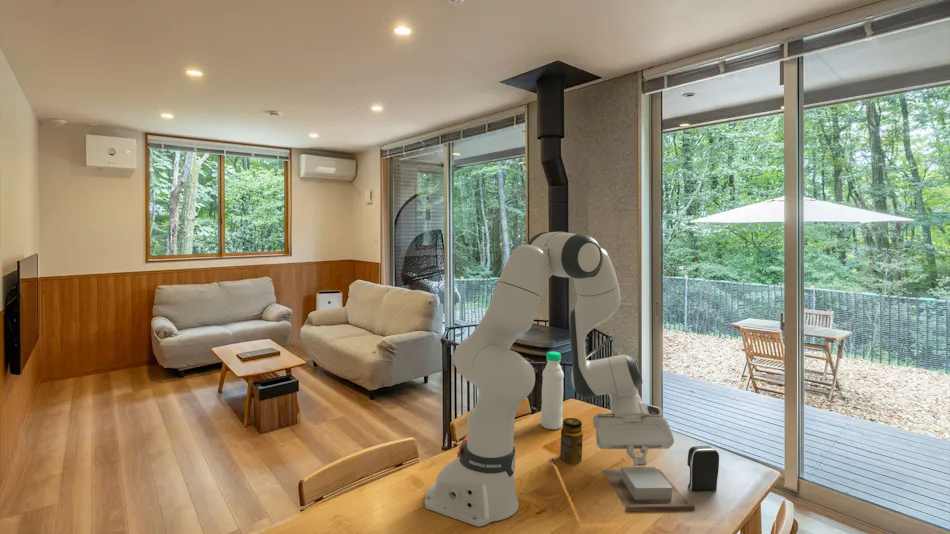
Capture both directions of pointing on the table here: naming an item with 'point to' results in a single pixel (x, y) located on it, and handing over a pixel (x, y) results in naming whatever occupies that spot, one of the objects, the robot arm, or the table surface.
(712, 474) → the battery charger
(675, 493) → the board
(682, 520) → the table surface
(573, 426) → the condiment
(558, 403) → the water bottle
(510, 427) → the robot arm
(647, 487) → the grey rectangular block
